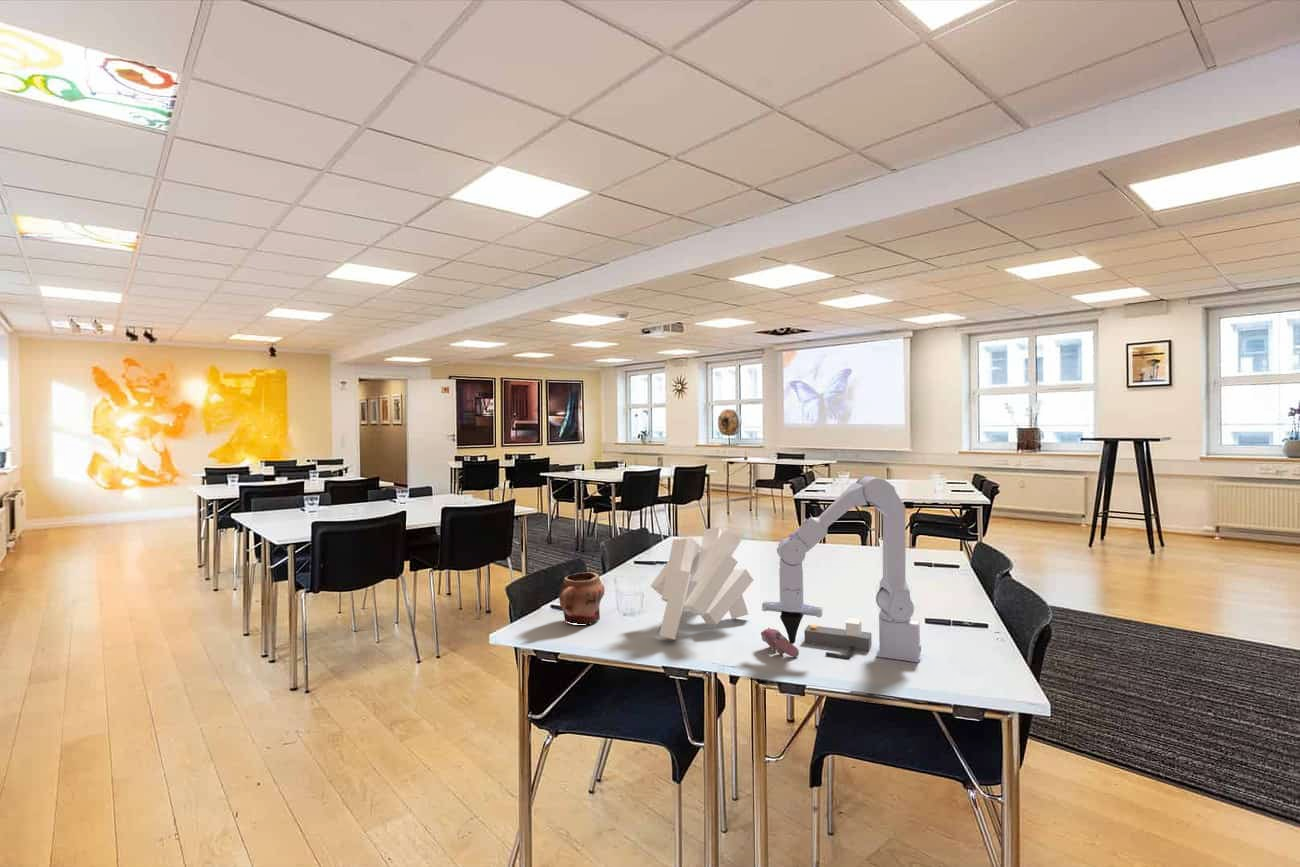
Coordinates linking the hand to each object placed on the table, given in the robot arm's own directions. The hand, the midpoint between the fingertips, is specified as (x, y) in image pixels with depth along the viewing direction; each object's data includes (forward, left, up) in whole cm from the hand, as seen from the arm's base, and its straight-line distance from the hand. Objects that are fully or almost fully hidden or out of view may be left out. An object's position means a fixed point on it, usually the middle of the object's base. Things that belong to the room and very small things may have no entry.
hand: (792, 642), depth 153 cm
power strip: (-9, -8, -3) cm, 13 cm away
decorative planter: (+62, 0, -3) cm, 62 cm away
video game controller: (+3, 0, -3) cm, 5 cm away
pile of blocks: (+29, -13, -3) cm, 32 cm away
